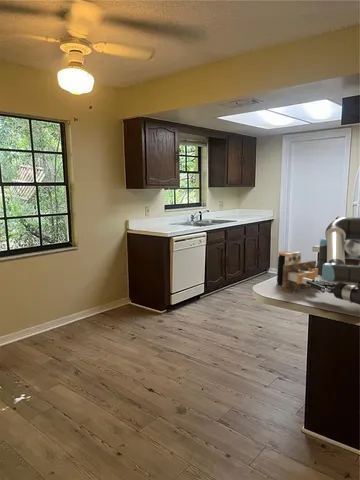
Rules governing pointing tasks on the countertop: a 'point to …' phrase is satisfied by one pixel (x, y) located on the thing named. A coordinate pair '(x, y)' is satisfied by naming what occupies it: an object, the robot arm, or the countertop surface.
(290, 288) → the button panel
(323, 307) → the countertop surface
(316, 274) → the button
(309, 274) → the button middle
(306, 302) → the countertop surface
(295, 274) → the button
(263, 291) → the countertop surface
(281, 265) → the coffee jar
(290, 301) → the countertop surface
